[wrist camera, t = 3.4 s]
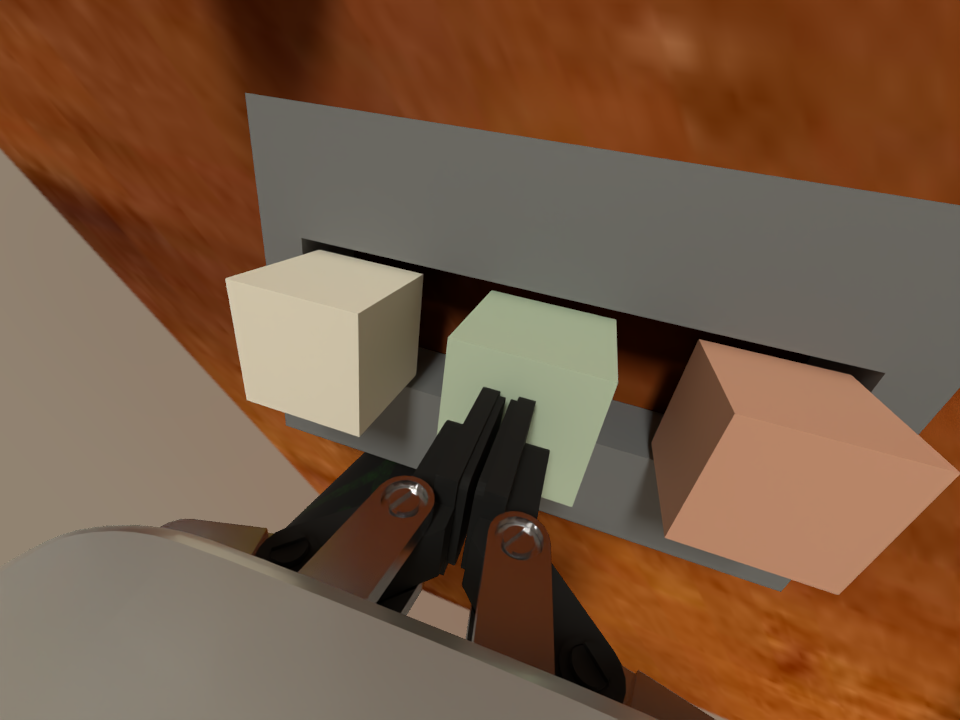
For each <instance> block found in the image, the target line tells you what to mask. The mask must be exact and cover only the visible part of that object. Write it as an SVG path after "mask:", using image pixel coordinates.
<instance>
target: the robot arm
mask: <svg viewBox="0 0 960 720" xmlns="http://www.w3.org/2000/svg"><path fill="white" fill-rule="evenodd" d="M500 393H501V392H500V391H498V390H494V389H491V388H487V387H483V388H482V390H481V391H480V393H479V395H478V397H477V399H476V401H475V403H474V404H473V406H472V408H471V410H470V412H469V414H468V415H467V417H466V419H465V421H464V423H463V424H461V423H458V422H454V421H451V420H447V421H446V422H445V423H444V425H443V427H442V428H441V430H440V431H439V433H438V435H437V436H436V438H435V440H434V441H433V443H432V444H431V446H430V448H429V449H428V451H427V453H426V454H425V456H424V458H423V459H422V461H421V462H420V464H419V466H418V467H417V469H416V471H415V472H414V474H413V475H412V476H398V477H394V478H391V479H389V480H387V481H385V482H384V483H383V484H381V485H380V486H379V487H378V488H377V489H376V490H375V491H374V492H373V494H372V495H371V496H370V497H369V498H368V499H367V500H366V501H365V502H364V503H363V504H362V505H360V506H357V507H353V508H350V509H347V510H343V511H340V512H337V513H334V514H330V515H327V516H324V517H320V518H317V519H314V520H310V521H307V522H304V523H301V524H297V525H294V526H291V527H287V528H285V529H282V530H280V531H278V532H276V533H274V534H273V533H268V531H267V528H260V527H253V526H245V525H236V524H229V523H220V522H212V521H204V520H196V519H179V520H176V521H173V522H169V523H167V524H165V525H163V526H161V527H153V526H140V525H126V526H125V525H122V526H103V527H94V528H88V529H82V530H76V531H73V532H70V533H66V534H63V535H60V536H57V537H55V538H53V539H51V540H48V541H46V542H44V543H42V544H40V545H38V546H36V547H34V548H32V549H30V550H28V551H26V552H25V553H23V554H21V555H19V556H18V557H16V558H14V559H12V560H11V561H9V562H7V563H6V564H4V565H2V566H1V567H0V720H715V719H714V718H712V717H711V716H709V715H708V714H706V713H704V712H703V711H701V710H700V709H698V708H697V707H695V706H694V705H692V704H690V703H689V702H687V701H686V700H684V699H683V698H681V697H680V696H678V695H676V694H675V693H673V692H672V691H670V690H669V689H667V688H665V687H664V686H662V685H661V684H659V683H658V682H656V681H655V680H653V679H651V678H650V677H648V676H647V675H645V674H644V673H642V672H640V671H639V670H638V671H637V672H636V674H634V673H633V672H631V671H630V670H628V669H627V668H625V667H624V666H622V664H621V663H620V661H619V659H618V657H617V655H616V654H615V652H614V650H613V649H612V648H611V646H610V645H609V643H608V642H607V641H606V639H605V638H604V636H603V635H602V633H601V632H600V631H599V629H598V628H597V626H596V625H595V624H594V622H593V621H592V619H591V618H590V617H589V615H588V614H587V612H586V611H585V610H584V608H583V607H582V605H581V604H580V602H579V601H578V600H577V598H576V597H575V595H574V594H573V593H572V591H571V590H570V588H569V587H568V586H567V584H566V583H565V581H564V580H563V579H562V577H561V576H560V574H559V573H558V571H557V570H556V569H555V567H554V566H553V564H552V563H551V543H550V538H549V534H548V532H547V531H546V529H545V527H544V526H543V525H542V524H541V523H540V522H539V521H538V520H537V516H538V511H539V506H540V501H541V495H542V490H543V485H544V480H545V475H546V470H547V464H548V459H549V454H550V450H548V449H545V448H542V447H538V446H535V445H531V444H528V443H526V439H527V435H528V432H529V428H530V424H531V420H532V416H533V412H534V408H535V404H536V401H534V400H530V399H527V398H523V397H519V398H518V400H517V401H516V400H513V399H511V400H510V403H509V405H508V408H507V410H506V413H505V415H504V418H503V420H502V415H503V410H504V406H505V401H506V397H502V396H500ZM501 420H502V423H501ZM466 535H467V537H466ZM465 538H466V542H465V547H464V552H463V558H462V563H461V568H463V569H465V572H464V577H463V582H462V586H463V588H464V590H465V592H466V594H467V596H468V598H469V600H470V602H471V608H470V614H469V620H468V627H467V634H466V639H463V638H461V637H458V636H455V635H453V634H451V633H448V632H446V631H443V630H441V629H438V628H436V627H433V626H431V625H428V624H425V623H423V622H421V621H418V620H415V619H413V618H410V617H408V616H406V615H407V614H408V612H409V610H410V608H411V607H412V605H413V604H414V602H415V601H416V599H417V597H418V596H419V594H420V592H421V590H422V588H423V586H424V582H425V581H428V580H430V579H432V578H435V577H437V576H438V575H439V574H441V575H444V572H445V570H446V567H447V565H448V563H450V564H452V565H455V564H456V562H457V559H458V556H459V554H460V551H461V548H462V546H463V543H464V540H465Z"/></svg>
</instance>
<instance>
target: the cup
mask: <svg viewBox="0 0 960 720" xmlns="http://www.w3.org/2000/svg"><path fill="white" fill-rule="evenodd" d="M415 471H416V469H414V468H411V467H409V466H406V465H403V464H400V463H397V462H394V461H391V460H388V459H385V458H382V457H379V456H376V455H373V454H370V453H367V452H365V453H364V454H363V455H361V456H360V457H359V458H358V459H357V460H356V461H355V462H354V463H353V464H352V465H351V466H350V467H349V468H348V469H347V470H346V471H345V472H344V473H343V474H342V475H341V476H339V477H338V478H337V479H336V480H335V481H334V482H333V483H332V484H331V485H330V486H329V487H328V488H327V489H326V490H325V491H324V492H323V493H322V494H321V495H320V496H319V497H317V498H316V499H315V500H314V501H313V502H312V503H311V504H310V505H309V506H308V507H307V508H306V509H305V510H304V511H303V512H302V513H301V514H300V515H299V516H298V517H297V518H295V520H293V521H292V523H290V524H289V525H288V526H287V527H291V526H294V525H297V524H301V523H304V522H307V521H310V520H314V519H317V518H320V517H324V516H327V515H330V514H334V513H337V512H340V511H343V510H347V509H350V508H353V507H357V506H360V505H362V504H363V503H364V502H365V501H366V500H367V499H368V498H369V497H370V496H371V495H372V494H373V492H374V491H375V490H376V489H377V488H378V487H379V486H380V485H381V484H383V483H384V482H385V481H387V480H389V479H391V478H394V477H398V476H412V475H413V474H414V472H415ZM287 527H286V528H287Z"/></svg>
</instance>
